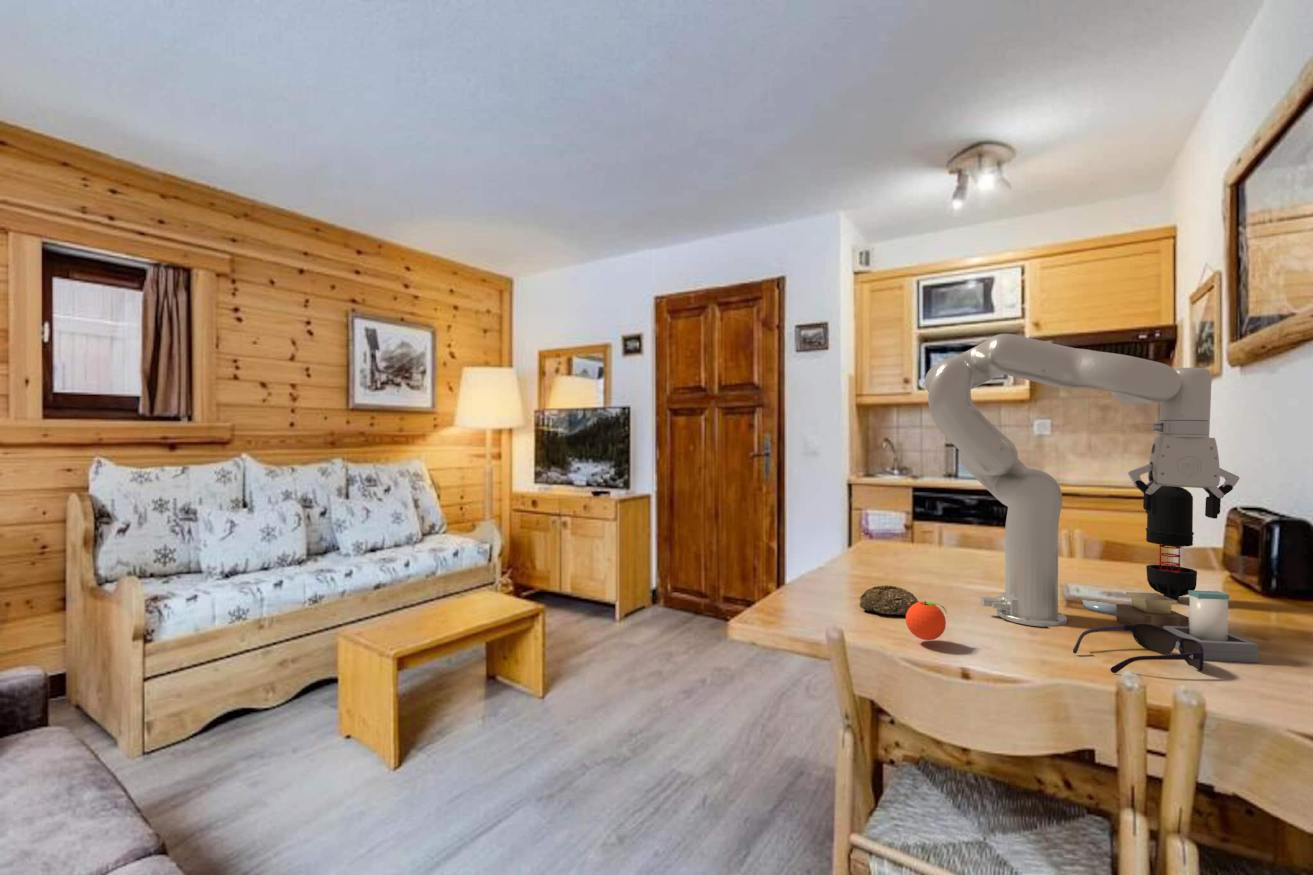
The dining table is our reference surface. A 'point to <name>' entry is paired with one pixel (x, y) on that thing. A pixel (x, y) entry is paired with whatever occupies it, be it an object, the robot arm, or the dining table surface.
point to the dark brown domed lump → (887, 600)
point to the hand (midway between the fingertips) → (1180, 515)
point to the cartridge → (1208, 615)
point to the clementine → (925, 620)
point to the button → (1151, 603)
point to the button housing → (1149, 617)
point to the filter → (1171, 541)
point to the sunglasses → (1155, 644)
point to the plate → (1100, 607)
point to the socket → (1221, 647)
